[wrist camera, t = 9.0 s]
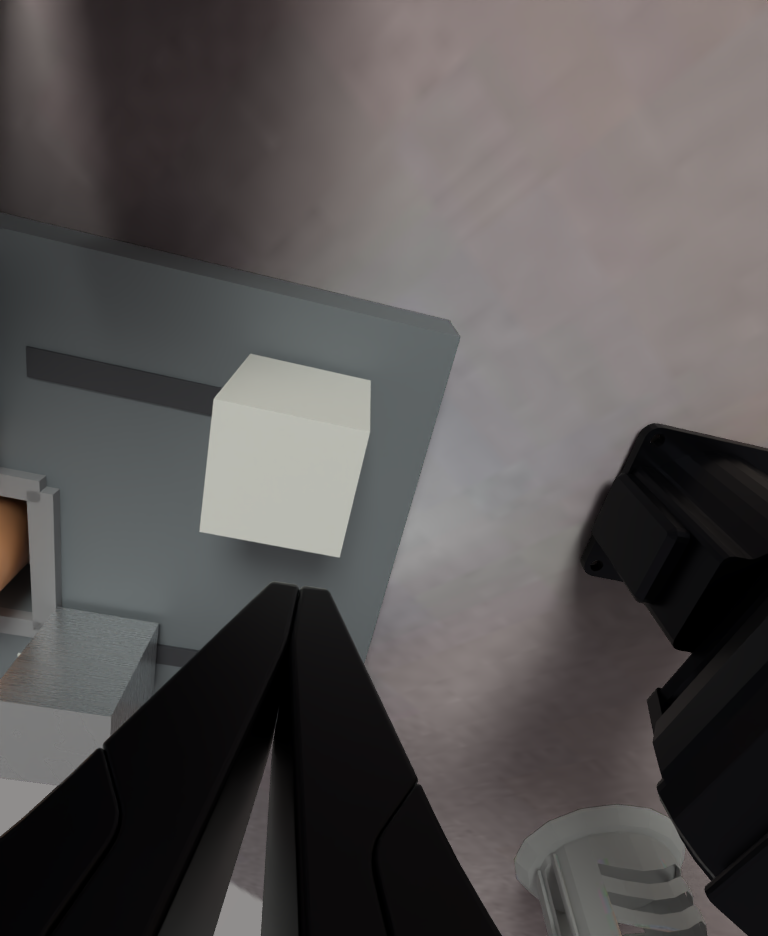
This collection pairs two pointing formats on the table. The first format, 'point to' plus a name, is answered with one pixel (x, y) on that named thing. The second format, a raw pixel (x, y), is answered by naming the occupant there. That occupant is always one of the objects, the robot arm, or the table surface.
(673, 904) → the french press
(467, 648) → the table surface
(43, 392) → the panel
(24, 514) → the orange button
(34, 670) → the grey slider
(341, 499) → the white slider
